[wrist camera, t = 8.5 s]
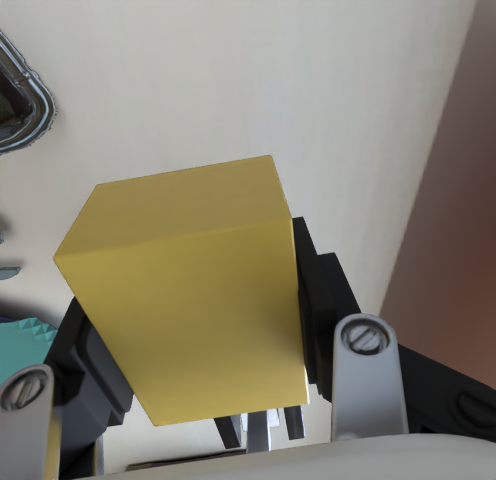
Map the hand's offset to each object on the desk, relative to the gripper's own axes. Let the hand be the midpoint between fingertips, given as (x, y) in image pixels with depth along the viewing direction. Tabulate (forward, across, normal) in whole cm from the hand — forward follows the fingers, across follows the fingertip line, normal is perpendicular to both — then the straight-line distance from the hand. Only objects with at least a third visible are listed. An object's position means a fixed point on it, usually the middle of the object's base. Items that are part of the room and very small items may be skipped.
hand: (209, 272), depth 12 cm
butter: (0, 0, 0) cm, 0 cm away
